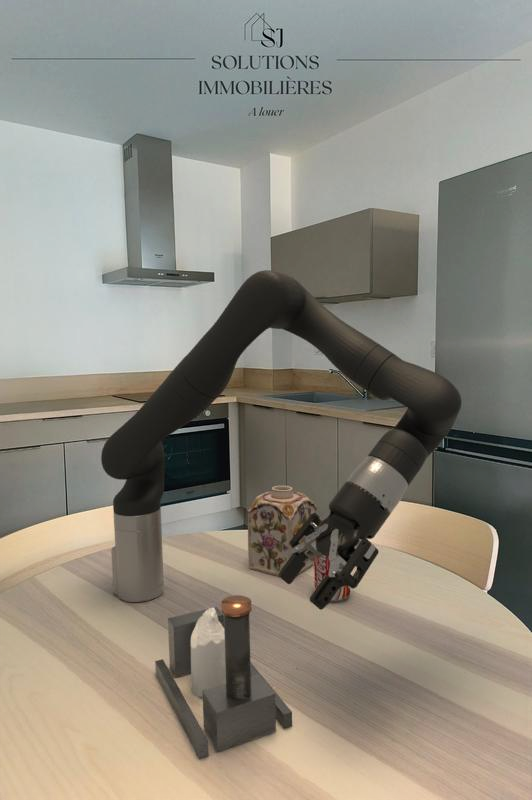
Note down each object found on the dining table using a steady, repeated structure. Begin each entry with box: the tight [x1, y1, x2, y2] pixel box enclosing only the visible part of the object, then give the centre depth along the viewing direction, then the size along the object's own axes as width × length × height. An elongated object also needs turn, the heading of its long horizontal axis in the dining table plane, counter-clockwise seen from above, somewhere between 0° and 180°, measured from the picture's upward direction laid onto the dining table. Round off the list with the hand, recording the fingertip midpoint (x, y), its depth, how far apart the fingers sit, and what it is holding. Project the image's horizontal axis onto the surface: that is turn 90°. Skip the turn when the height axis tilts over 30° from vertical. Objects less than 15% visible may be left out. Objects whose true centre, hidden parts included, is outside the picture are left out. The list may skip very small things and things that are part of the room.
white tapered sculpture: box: [190, 607, 226, 699], centre depth 81 cm, size 6×12×6 cm
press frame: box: [154, 606, 293, 760], centre depth 79 cm, size 20×13×8 cm, turn 26°
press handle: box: [202, 594, 277, 752], centre depth 71 cm, size 5×8×17 cm, turn 116°
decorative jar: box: [247, 485, 318, 577], centre depth 125 cm, size 12×12×18 cm
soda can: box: [313, 555, 351, 603], centre depth 110 cm, size 7×7×12 cm
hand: (298, 592), depth 75 cm, fingers open, 8 cm apart
